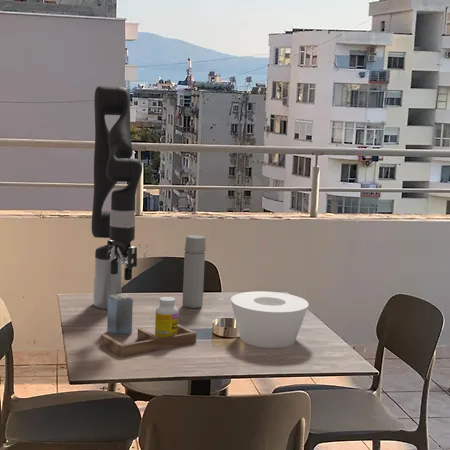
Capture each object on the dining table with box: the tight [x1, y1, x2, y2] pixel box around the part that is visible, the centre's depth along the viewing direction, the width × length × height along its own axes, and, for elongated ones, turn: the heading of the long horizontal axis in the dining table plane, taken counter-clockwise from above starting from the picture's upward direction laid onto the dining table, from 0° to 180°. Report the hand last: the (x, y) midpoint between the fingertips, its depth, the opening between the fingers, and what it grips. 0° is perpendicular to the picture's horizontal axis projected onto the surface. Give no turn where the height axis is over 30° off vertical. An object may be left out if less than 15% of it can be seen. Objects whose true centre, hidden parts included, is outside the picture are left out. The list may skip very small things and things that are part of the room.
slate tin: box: [106, 293, 134, 337], centre depth 223 cm, size 6×6×12 cm
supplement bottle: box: [154, 296, 179, 338], centre depth 218 cm, size 7×7×13 cm
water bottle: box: [182, 234, 207, 309], centre depth 257 cm, size 9×8×25 cm
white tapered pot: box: [230, 291, 310, 349], centre depth 224 cm, size 24×24×12 cm
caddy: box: [100, 323, 197, 357], centre depth 215 cm, size 12×26×3 cm, turn 127°
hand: (120, 277), depth 221 cm, fingers open, 8 cm apart
